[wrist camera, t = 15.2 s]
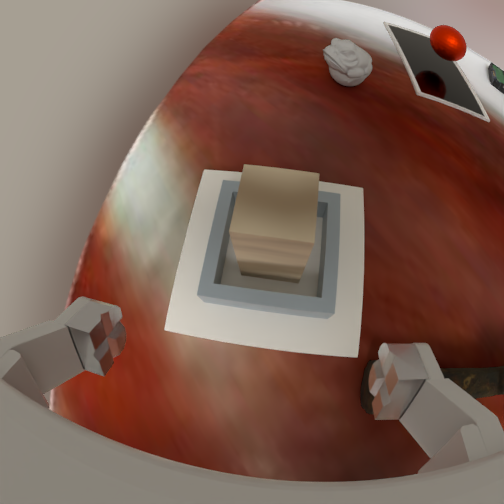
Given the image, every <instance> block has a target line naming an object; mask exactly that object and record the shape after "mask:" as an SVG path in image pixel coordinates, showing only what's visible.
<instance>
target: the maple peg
mask: <svg viewBox="0 0 504 504" xmlns="http://www.w3.org/2000/svg"><path fill="white" fill-rule="evenodd" d="M318 189H319V173H313V172H306V171H298V170H291V169H283V168H275V167H266V166H256V165H246V164H244V167H243V171H242V175H241V180H240V184H239V188H238V193H237V197H236V202H235V206H234V211H233V215H232V220H231V224H230V229H229V234H230V237H231V241H232V244H233V248H234V252H235V255H236V259H237V262H238V266H239V269H240V273H241V275H243V276H250V277H257V278H263V279H270V280H278V281H285V282H292V283H299V281H300V279H301V276H302V274H303V271H304V269H305V266H306V264H307V261H308V259H309V256H310V254H311V251H312V248H313V246H314V243H315V231H316V219H317V205H318Z"/></svg>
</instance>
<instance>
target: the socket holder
mask: <svg viewBox="0 0 504 504" xmlns="http://www.w3.org/2000/svg"><path fill="white" fill-rule="evenodd" d="M241 175H242V172H232V171H219V170H205V169H204V172H203V175H202V178H201V182H200V185H199V189H198V192H197V196H196V199H195V203H194V206H193V210H192V214H191V217H190V221H189V225H188V229H187V232H186V236H185V240H184V244H183V248H182V252H181V256H180V260H179V264H178V269H177V273H176V277H175V282H174V286H173V290H172V295H171V299H170V304H169V309H168V314H167V318H166V323H165V328H164V330H166V331H170V332H174V333H179V334H184V335H189V336H194V337H199V338H204V339H209V340H215V341H221V342H226V343H232V344H238V345H245V346H251V347H258V348H265V349H273V350H280V351H289V352H297V353H306V354H316V355H327V356H340V357H354V358H355V357H358V350H359V341H360V330H361V317H362V302H363V282H364V197H363V188H359V187H354V186H347V185H341V184H335V183H328V182H321V181H319V189H318V205H317V219H316V231H315V243H314V246H313V248H312V251H311V254H310V256H309V259H308V261H307V264H306V266H305V269H304V271H303V274H302V276H301V279H300V281H299V283H292V282H285V281H278V280H270V279H263V278H257V277H250V276H243V275H241V273H240V269H239V266H238V262H237V259H236V255H235V252H234V248H233V244H232V241H231V237H230V234H229V229H230V224H231V220H232V215H233V211H234V206H235V202H236V197H237V193H238V188H239V184H240V180H241Z"/></svg>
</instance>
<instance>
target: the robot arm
mask: <svg viewBox="0 0 504 504" xmlns="http://www.w3.org/2000/svg"><path fill="white" fill-rule="evenodd" d="M121 318H122V313H121V309H120V308H119V307H118V306H116V305H112V304H108V303H104V302H101V301H97V300H92V299H89V298H86V297H79V298H78V299H77V300H76V301H74V302H73V303H72V304H71V305H70V306H69V307H68V308H67V309H66V310H65V311H64V312H63V313H61V314H60V315H59V316H58V317H57V318H56V319H55V320H54V321H47V322H44V323H41V324H38V325H35V326H32V327H29V328H26V329H24V330H21V331H18V332H15V333H13V334H9V335H6V336H4V337H1V338H0V504H504V432H503V429H502V427H501V424H500V422H499V420H498V417H497V416H496V415H494V414H493V413H492V412H491V411H489V410H488V409H487V408H486V407H484V406H483V405H482V404H481V403H479V402H478V401H477V400H475V399H474V398H473V397H472V396H470V395H469V394H468V393H467V392H465V391H464V390H463V389H461V388H460V387H459V386H458V385H456V384H455V383H454V382H452V381H451V380H450V379H449V378H446V379H445V378H444V376H443V374H442V372H441V369H440V367H439V365H438V363H437V361H436V358H435V356H434V354H433V352H432V350H431V348H430V346H429V345H428V344H427V343H383V344H382V345H381V346H380V349H379V351H378V355H379V359H378V360H377V361H376V362H374V363H373V365H372V368H371V370H370V374H369V390H370V393H371V394H372V395H373V396H375V398H374V400H373V402H372V407H373V412H374V418H375V420H394V419H400V420H399V421H400V422H401V423H402V424H403V426H404V427H405V428H406V429H407V430H408V432H409V433H410V434H411V435H412V437H413V438H414V439H415V440H416V441H417V443H418V444H419V445H420V446H421V448H422V449H423V450H424V451H425V453H426V454H427V455H428V456H429V457H430V460H429V461H428V462H427V463H426V464H425V465H424V466H423V467H421V469H420V470H419V471H418V474H414V475H408V476H402V477H394V478H386V479H376V480H364V481H346V482H306V481H287V480H275V479H265V478H257V477H249V476H242V475H236V474H230V473H224V472H219V471H214V470H209V469H204V468H200V467H196V466H191V465H187V464H184V463H180V462H176V461H172V460H169V459H165V458H162V457H159V456H156V455H152V454H149V453H146V452H143V451H140V450H138V449H135V448H132V447H129V446H127V445H124V444H121V443H119V442H116V441H114V440H111V439H109V438H106V437H104V436H102V435H99V434H97V433H95V432H93V431H91V430H88V429H86V428H84V427H82V426H80V425H78V424H76V423H74V422H72V421H70V420H68V419H66V418H64V417H62V416H60V415H58V414H57V413H55V412H53V411H51V410H49V403H48V402H47V400H46V399H45V397H44V395H43V394H45V393H46V392H48V391H50V390H52V389H53V388H55V387H57V386H59V385H60V384H62V383H64V382H65V381H67V380H69V379H71V378H72V377H74V376H76V375H77V374H79V373H81V372H83V371H84V370H87V371H90V372H93V373H96V374H99V375H102V376H105V375H106V373H107V372H108V371H109V369H110V368H111V366H112V365H113V363H114V361H113V357H115V356H117V355H119V354H120V353H121V352H122V350H123V349H124V346H125V343H126V331H125V327H124V326H123V325H122V324H121V322H120V320H121Z"/></svg>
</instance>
